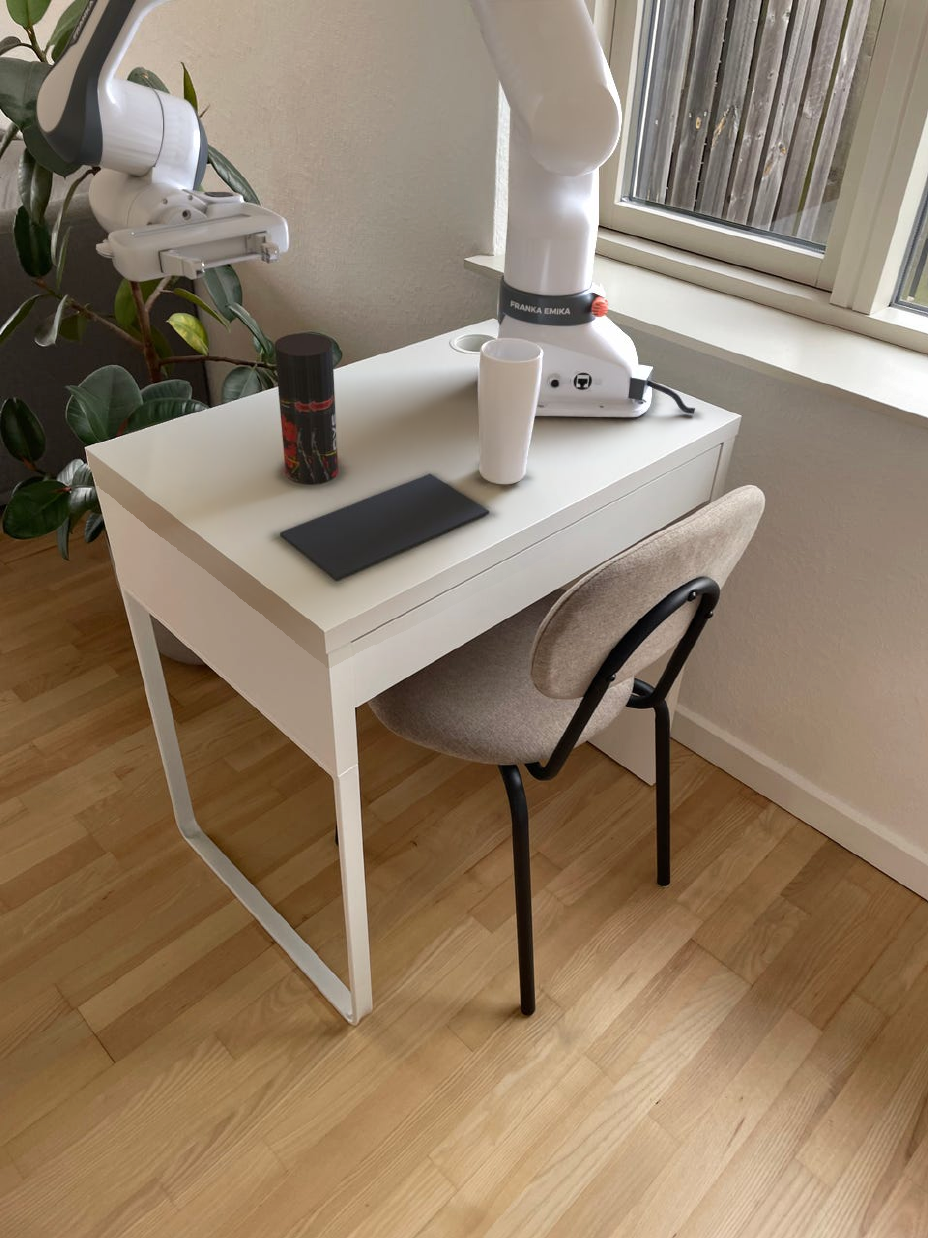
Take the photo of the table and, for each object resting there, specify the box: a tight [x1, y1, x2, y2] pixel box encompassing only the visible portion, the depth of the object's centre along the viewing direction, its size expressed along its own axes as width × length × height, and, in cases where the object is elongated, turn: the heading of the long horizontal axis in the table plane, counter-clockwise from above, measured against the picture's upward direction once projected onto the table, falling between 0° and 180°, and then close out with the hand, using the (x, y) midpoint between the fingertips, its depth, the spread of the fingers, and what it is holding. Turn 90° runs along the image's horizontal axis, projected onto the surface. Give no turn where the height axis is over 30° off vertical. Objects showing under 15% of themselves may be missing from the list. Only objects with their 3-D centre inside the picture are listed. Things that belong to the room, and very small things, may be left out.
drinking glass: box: [477, 338, 543, 485], centre depth 103 cm, size 7×7×15 cm
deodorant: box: [273, 332, 339, 485], centre depth 101 cm, size 6×6×15 cm
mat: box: [279, 473, 490, 582], centre depth 98 cm, size 20×10×1 cm, turn 131°
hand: (237, 262), depth 101 cm, fingers open, 8 cm apart
